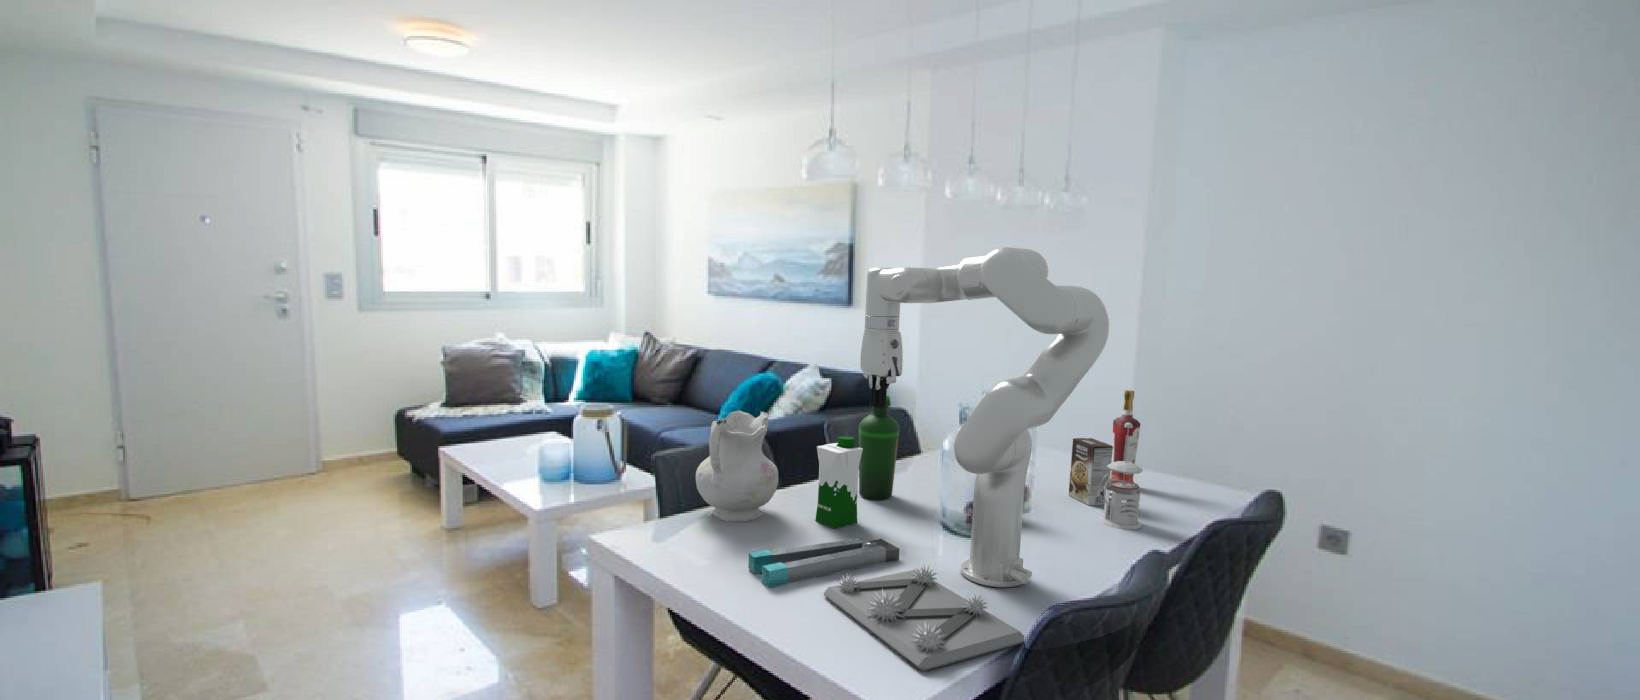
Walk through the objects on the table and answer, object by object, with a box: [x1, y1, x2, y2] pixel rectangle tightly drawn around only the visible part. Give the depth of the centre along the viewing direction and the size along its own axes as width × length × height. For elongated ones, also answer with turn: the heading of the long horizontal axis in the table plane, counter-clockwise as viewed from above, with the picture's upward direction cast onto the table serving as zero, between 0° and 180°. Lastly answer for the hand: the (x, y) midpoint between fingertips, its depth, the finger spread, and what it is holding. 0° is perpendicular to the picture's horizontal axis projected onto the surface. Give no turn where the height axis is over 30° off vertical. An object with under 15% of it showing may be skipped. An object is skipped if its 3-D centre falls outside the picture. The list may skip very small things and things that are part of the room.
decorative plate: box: [823, 562, 1025, 672], centre depth 130 cm, size 30×22×7 cm
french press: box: [1099, 423, 1144, 530], centre depth 185 cm, size 10×12×25 cm
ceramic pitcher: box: [695, 410, 779, 523], centre depth 179 cm, size 22×20×25 cm
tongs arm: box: [747, 538, 877, 574], centre depth 152 cm, size 27×5×3 cm, turn 116°
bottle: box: [858, 391, 900, 501], centre depth 199 cm, size 11×11×28 cm
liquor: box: [1110, 389, 1141, 483], centre depth 219 cm, size 7×7×28 cm
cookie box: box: [1068, 437, 1113, 506], centre depth 204 cm, size 9×6×16 cm
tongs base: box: [761, 538, 900, 589], centre depth 151 cm, size 30×7×3 cm, turn 122°
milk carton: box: [815, 435, 863, 530], centre depth 177 cm, size 9×9×20 cm
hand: (877, 406), depth 169 cm, fingers closed
